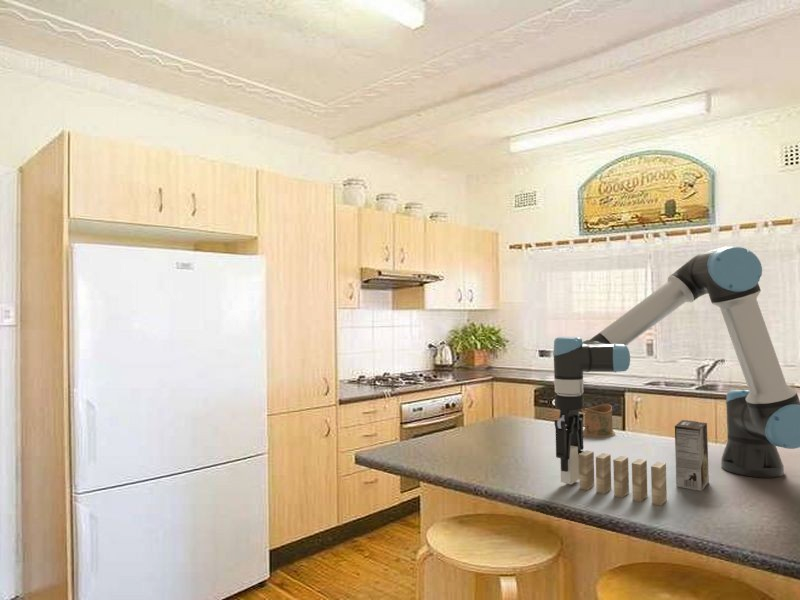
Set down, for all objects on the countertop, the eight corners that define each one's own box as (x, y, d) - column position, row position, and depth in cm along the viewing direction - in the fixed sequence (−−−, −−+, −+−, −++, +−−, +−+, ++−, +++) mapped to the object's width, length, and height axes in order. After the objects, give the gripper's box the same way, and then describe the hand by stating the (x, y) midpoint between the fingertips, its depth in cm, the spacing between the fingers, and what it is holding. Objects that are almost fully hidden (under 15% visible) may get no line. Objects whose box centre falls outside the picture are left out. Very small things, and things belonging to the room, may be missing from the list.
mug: (562, 433, 207) (561, 401, 207) (601, 429, 212) (601, 398, 212) (581, 440, 196) (580, 406, 196) (622, 435, 201) (621, 403, 201)
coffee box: (683, 478, 151) (681, 419, 151) (709, 482, 147) (708, 422, 147) (675, 486, 144) (673, 425, 144) (702, 491, 140) (700, 428, 140)
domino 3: (611, 488, 143) (610, 454, 143) (604, 493, 139) (603, 458, 140) (603, 487, 144) (602, 453, 145) (596, 492, 141) (595, 457, 141)
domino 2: (594, 485, 146) (593, 451, 146) (587, 490, 142) (586, 455, 142) (587, 483, 147) (586, 450, 148) (579, 488, 144) (578, 454, 144)
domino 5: (647, 496, 137) (646, 460, 137) (641, 501, 133) (640, 464, 134) (639, 494, 139) (638, 458, 139) (632, 499, 135) (631, 463, 135)
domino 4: (629, 492, 140) (628, 457, 140) (622, 497, 136) (621, 461, 137) (621, 490, 142) (620, 455, 142) (614, 495, 138) (613, 460, 138)
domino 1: (578, 479, 149) (577, 446, 149) (571, 484, 145) (570, 450, 145) (571, 478, 150) (570, 445, 150) (563, 483, 146) (563, 449, 147)
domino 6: (666, 499, 134) (665, 463, 134) (660, 505, 131) (659, 467, 131) (658, 498, 136) (657, 461, 136) (651, 503, 132) (651, 466, 132)
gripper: (569, 388, 157) (571, 469, 157) (540, 397, 144) (542, 485, 143) (595, 391, 153) (597, 474, 152) (568, 399, 139) (570, 491, 139)
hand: (570, 480), depth 148 cm, fingers closed on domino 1, 5 cm apart
